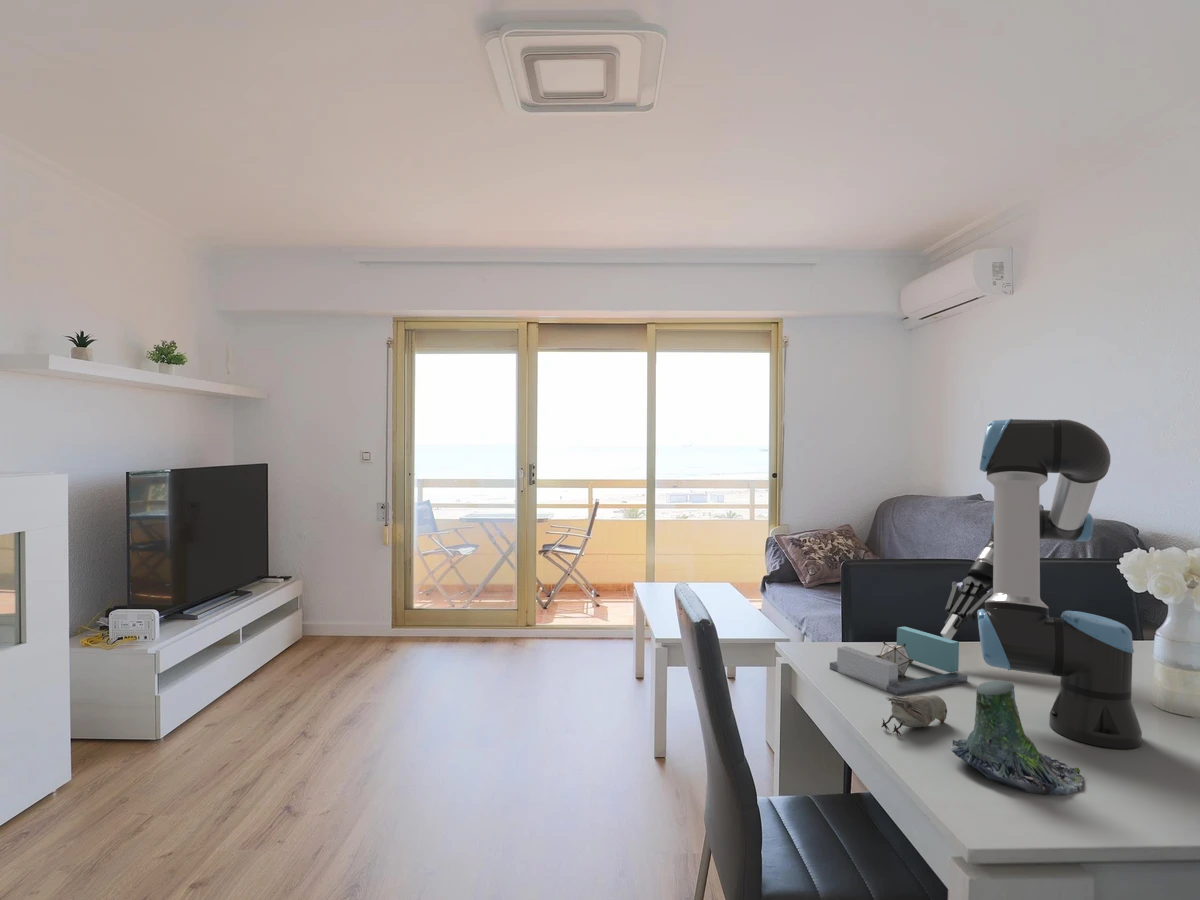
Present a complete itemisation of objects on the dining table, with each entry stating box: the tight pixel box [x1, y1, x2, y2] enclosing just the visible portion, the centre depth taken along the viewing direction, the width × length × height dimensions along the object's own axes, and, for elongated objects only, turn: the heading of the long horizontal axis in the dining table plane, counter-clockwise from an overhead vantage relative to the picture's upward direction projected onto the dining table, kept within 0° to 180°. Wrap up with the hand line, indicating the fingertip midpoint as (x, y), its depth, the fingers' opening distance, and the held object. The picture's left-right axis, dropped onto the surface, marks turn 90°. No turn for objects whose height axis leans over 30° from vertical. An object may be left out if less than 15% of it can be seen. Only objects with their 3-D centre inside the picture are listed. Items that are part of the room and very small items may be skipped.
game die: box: [876, 640, 915, 679], centre depth 175 cm, size 9×8×10 cm
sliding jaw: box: [896, 626, 960, 673], centre depth 180 cm, size 16×3×7 cm, turn 26°
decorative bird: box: [881, 694, 948, 737], centre depth 142 cm, size 5×16×8 cm, turn 116°
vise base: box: [829, 646, 968, 696], centre depth 176 cm, size 21×24×6 cm
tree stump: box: [949, 679, 1084, 796], centre depth 123 cm, size 18×20×18 cm
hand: (945, 637), depth 184 cm, fingers closed
